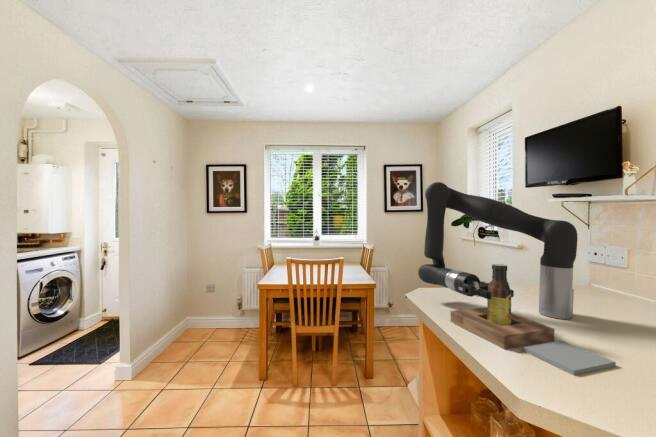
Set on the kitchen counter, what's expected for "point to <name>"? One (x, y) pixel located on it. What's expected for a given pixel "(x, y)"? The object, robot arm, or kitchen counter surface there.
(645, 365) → the kitchen counter surface
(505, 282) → the sauce bottle
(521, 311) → the kitchen counter surface
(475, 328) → the seat block
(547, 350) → the grey mat
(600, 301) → the kitchen counter surface
